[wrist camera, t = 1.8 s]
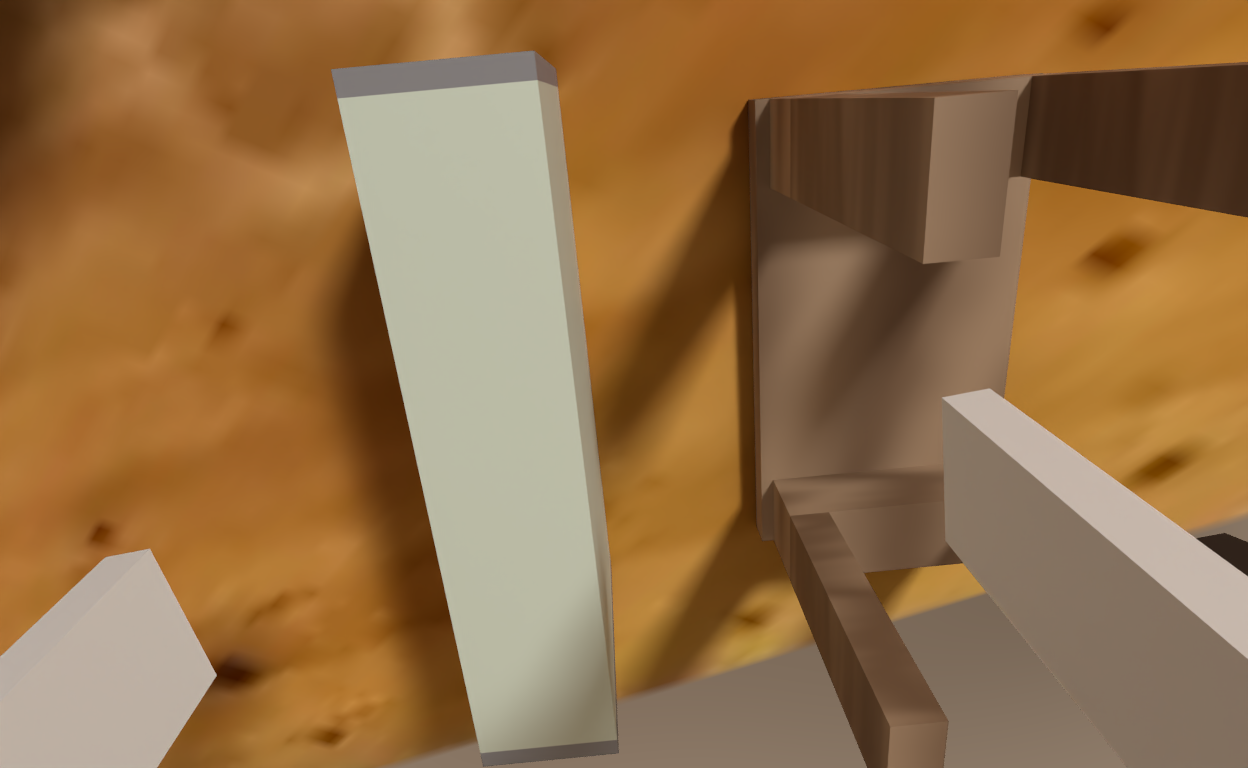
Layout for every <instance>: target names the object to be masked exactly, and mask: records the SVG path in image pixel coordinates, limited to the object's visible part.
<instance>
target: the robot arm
mask: <svg viewBox="0 0 1248 768" xmlns="http://www.w3.org/2000/svg"><path fill="white" fill-rule="evenodd" d="M942 425H943V464H944V503H945V541H946V542H947V543H948V545H949V546H950V547H951V548H952V550H953V551H954V552H955V553H956V555H957V556H958V557H959V558H960V560H961V561H962V562H963V563H964V565H965V566H966V567H967V568H968V570H969V571H970V572H971V573H972V575H973V576H974V577H975V578H976V580H977V581H978V582H979V583H980V585H981V586H982V587H983V588H984V590H985V591H986V592H987V593H988V595H989V596H990V597H991V598H992V599H993V601H994V602H995V603H996V605H997V606H998V607H999V608H1000V609H1001V611H1002V612H1003V613H1004V615H1005V616H1006V617H1007V618H1008V619H1009V621H1010V622H1011V623H1012V625H1013V626H1014V627H1015V628H1016V630H1017V631H1018V632H1019V633H1020V635H1021V636H1022V637H1023V638H1024V640H1025V641H1026V642H1027V643H1028V644H1029V646H1030V647H1031V648H1032V650H1033V651H1034V652H1035V653H1036V655H1037V656H1038V657H1039V658H1040V660H1041V661H1042V662H1043V663H1044V665H1045V666H1046V667H1047V668H1048V670H1049V671H1050V672H1051V673H1052V675H1053V676H1054V677H1055V678H1056V680H1057V681H1058V682H1059V683H1060V685H1061V686H1062V687H1063V688H1064V690H1065V691H1066V692H1067V693H1068V694H1069V696H1070V697H1071V698H1072V699H1073V701H1074V702H1075V703H1076V705H1077V706H1078V707H1079V708H1080V710H1081V711H1082V712H1083V713H1084V715H1085V716H1086V717H1087V718H1088V720H1089V721H1090V722H1091V723H1092V724H1093V726H1094V727H1095V728H1096V729H1097V731H1098V732H1099V733H1100V735H1101V736H1102V737H1103V738H1104V740H1105V741H1106V742H1107V743H1108V745H1109V746H1110V747H1111V748H1112V749H1113V751H1114V752H1115V753H1116V754H1117V756H1118V757H1119V758H1120V760H1121V761H1122V762H1123V763H1124V765H1125V766H1126V767H1127V768H1248V542H1246V541H1243V540H1241V539H1238V538H1236V537H1233V536H1231V535H1228V534H1226V533H1223V534H1217V535H1212V536H1207V537H1201V538H1194V537H1193V536H1192V535H1190V534H1189V533H1188V532H1186V531H1185V530H1183V529H1182V528H1181V527H1179V526H1178V525H1177V524H1175V523H1174V522H1172V521H1171V520H1170V519H1168V518H1167V517H1166V516H1164V515H1163V514H1161V513H1160V512H1159V511H1157V510H1156V509H1155V508H1153V507H1152V506H1150V505H1149V504H1148V503H1146V502H1145V501H1144V500H1142V499H1141V498H1140V497H1138V496H1137V495H1135V494H1134V493H1133V492H1131V491H1130V490H1129V489H1127V488H1126V487H1124V486H1123V485H1122V484H1120V483H1119V482H1118V481H1116V480H1115V479H1113V478H1112V477H1111V476H1109V475H1108V474H1107V473H1105V472H1104V471H1102V470H1101V469H1100V468H1098V467H1097V466H1096V465H1094V464H1093V463H1091V462H1090V461H1089V460H1087V459H1086V458H1085V457H1083V456H1082V455H1081V454H1079V453H1078V452H1076V451H1075V450H1074V449H1072V448H1071V447H1070V446H1068V445H1067V444H1065V443H1064V442H1063V441H1061V440H1060V439H1059V438H1057V437H1056V436H1054V435H1053V434H1052V433H1050V432H1049V431H1048V430H1046V429H1045V428H1043V427H1042V426H1041V425H1039V424H1038V423H1037V422H1035V421H1034V420H1033V419H1031V418H1030V417H1028V416H1027V415H1026V414H1024V413H1023V412H1022V411H1020V410H1019V409H1017V408H1016V407H1015V406H1013V405H1012V404H1011V403H1009V402H1008V401H1006V400H1005V399H1004V398H1002V397H1001V396H1000V395H998V394H997V393H995V392H994V391H993V390H991V389H990V388H989V389H984V390H979V391H973V392H968V393H963V394H958V395H952V396H947V397H942ZM216 676H217V675H216V673H215V671H214V669H213V667H212V666H211V664H210V662H209V660H208V658H207V656H206V654H205V652H204V650H203V649H202V647H201V645H200V643H199V641H198V639H197V637H196V635H195V633H194V632H193V630H192V628H191V626H190V624H189V622H188V620H187V618H186V616H185V614H184V613H183V611H182V609H181V607H180V605H179V603H178V601H177V599H176V597H175V596H174V594H173V592H172V590H171V588H170V586H169V584H168V582H167V580H166V579H165V577H164V575H163V573H162V571H161V569H160V567H159V565H158V563H157V562H156V560H155V558H154V556H153V554H152V552H151V550H150V549H146V550H141V551H136V552H131V553H126V554H120V555H115V556H110V557H105V558H104V559H103V560H102V561H101V562H100V563H99V564H98V565H97V566H96V567H95V568H94V569H92V570H91V571H90V572H89V573H88V574H87V575H86V576H85V577H84V578H83V579H82V580H81V581H80V582H79V583H78V584H77V585H76V586H75V587H73V588H72V589H71V590H70V591H69V592H68V593H67V594H66V595H65V596H64V597H63V598H62V599H61V600H60V601H59V602H58V603H57V604H55V605H54V606H53V607H52V608H51V609H50V610H49V611H48V612H47V613H46V614H45V615H44V616H43V617H42V618H41V619H40V620H39V621H38V622H36V623H35V624H34V625H33V626H32V627H31V628H30V629H29V630H28V631H27V632H26V633H25V634H24V635H23V636H22V637H21V638H20V639H19V640H17V641H16V642H15V643H14V644H13V645H12V646H11V647H10V648H9V649H8V650H7V651H6V652H5V653H4V654H3V655H2V656H1V657H0V768H157V767H158V765H159V764H160V762H161V761H162V759H163V758H164V756H165V755H166V753H167V752H168V750H169V748H170V747H171V745H172V744H173V742H174V741H175V739H176V738H177V736H178V735H179V733H180V731H181V730H182V728H183V727H184V725H185V724H186V722H187V721H188V719H189V718H190V716H191V714H192V713H193V711H194V710H195V708H196V707H197V705H198V704H199V702H200V701H201V699H202V697H203V696H204V694H205V693H206V691H207V690H208V688H209V687H210V685H211V684H212V682H213V680H214V679H215V677H216Z"/></svg>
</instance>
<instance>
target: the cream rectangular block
mask: <svg viewBox="0 0 1248 768" xmlns="http://www.w3.org/2000/svg"><path fill="white" fill-rule="evenodd" d="M331 71H332V76H333V81H334V85H335V90H336V94H337V99H338V103H339V108H340V113H341V117H342V122H343V126H344V131H345V135H346V140H347V145H348V149H349V154H350V158H351V163H352V168H353V172H354V177H355V181H356V186H357V190H358V195H359V200H360V204H361V209H362V213H363V218H364V223H365V227H366V232H367V236H368V241H369V245H370V250H371V255H372V259H373V264H374V268H375V273H376V278H377V282H378V287H379V291H380V296H381V300H382V305H383V310H384V314H385V319H386V323H387V328H388V333H389V337H390V342H391V346H392V351H393V355H394V360H395V365H396V369H397V374H398V378H399V383H400V388H401V392H402V397H403V401H404V406H405V410H406V415H407V420H408V424H409V429H410V433H411V438H412V442H413V447H414V452H415V456H416V461H417V465H418V470H419V475H420V479H421V484H422V488H423V493H424V497H425V502H426V507H427V511H428V516H429V520H430V525H431V530H432V534H433V539H434V543H435V548H436V552H437V557H438V562H439V566H440V571H441V575H442V580H443V585H444V589H445V594H446V598H447V603H448V607H449V612H450V617H451V621H452V626H453V630H454V635H455V640H456V644H457V649H458V653H459V658H460V662H461V667H462V672H463V676H464V681H465V685H466V690H467V695H468V699H469V704H470V708H471V713H472V717H473V722H474V727H475V731H476V736H477V740H478V745H479V749H480V754H481V759H482V763H483V766H493V765H503V764H513V763H524V762H534V761H545V760H554V759H565V758H575V757H586V756H596V755H606V754H616V753H619V750H618V727H617V726H618V724H617V699H616V674H615V648H614V623H613V598H612V572H611V561H610V552H609V543H608V534H607V525H606V516H605V507H604V498H603V489H602V480H601V471H600V462H599V453H598V444H597V435H596V426H595V417H594V408H593V399H592V390H591V381H590V372H589V363H588V354H587V345H586V336H585V327H584V318H583V309H582V300H581V291H580V282H579V273H578V264H577V255H576V246H575V237H574V228H573V219H572V210H571V201H570V192H569V183H568V174H567V165H566V156H565V147H564V138H563V129H562V120H561V111H560V102H559V93H558V84H557V75H556V69H555V68H554V67H553V66H552V65H551V64H549V63H548V62H547V61H546V60H545V59H543V58H542V57H541V56H540V55H539V54H537V53H536V52H535V51H526V52H515V53H504V54H493V55H482V56H471V57H460V58H450V59H439V60H428V61H417V62H406V63H395V64H384V65H373V66H363V67H352V68H341V69H331Z"/></svg>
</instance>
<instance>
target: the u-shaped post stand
mask: <svg viewBox="0 0 1248 768" xmlns="http://www.w3.org/2000/svg"><path fill="white" fill-rule="evenodd" d="M748 119H749V170H750V221H751V272H752V323H753V373H754V424H755V475H756V526H757V529H758V531H759V534H760V536H761V539H762V541H769V540H774V542H775V544H776V547H777V549H778V552H779V554H780V557H781V559H782V561H783V564H784V566H785V569H786V571H787V574H788V576H789V578H790V581H791V583H792V586H793V588H794V591H795V593H796V595H797V598H798V600H799V603H800V605H801V608H802V610H803V612H804V615H805V617H806V620H807V622H808V625H809V627H810V630H811V632H812V634H813V637H814V639H815V642H816V644H817V647H818V649H819V651H820V654H821V656H822V659H823V661H824V663H825V666H826V668H827V671H828V673H829V676H830V678H831V680H832V683H833V685H834V688H835V690H836V693H837V695H838V698H839V700H840V702H841V705H842V707H843V709H844V712H845V714H846V717H847V719H848V722H849V724H850V727H851V729H852V731H853V734H854V736H855V739H856V741H857V744H858V746H859V749H860V751H861V753H862V756H863V758H864V761H865V763H866V766H867V768H943V766H944V758H945V749H946V740H947V730H948V720H947V718H946V716H945V714H944V712H943V711H942V709H941V707H940V705H939V704H938V702H937V700H936V698H935V697H934V695H933V693H932V692H931V690H930V688H929V686H928V684H927V683H926V681H925V679H924V678H923V676H922V674H921V672H920V671H919V669H918V667H917V665H916V664H915V662H914V660H913V658H912V657H911V655H910V653H909V651H908V650H907V648H906V646H905V644H904V643H903V641H902V639H901V637H900V636H899V634H898V632H897V630H896V629H895V627H894V625H893V623H892V622H891V620H890V618H889V616H888V615H887V613H886V611H885V609H884V608H883V606H882V604H881V602H880V601H879V599H878V597H877V595H876V594H875V592H874V590H873V588H872V587H871V585H870V583H869V581H868V580H867V578H866V576H865V574H864V573H867V572H877V571H887V570H898V569H908V568H918V567H929V566H939V565H950V564H960V563H963V562H962V561H961V560H960V558H959V557H958V556H957V555H956V553H955V552H954V551H953V550H952V548H951V547H950V546H949V545H948V543H947V542H946V541H945V503H944V464H943V425H942V397H947V396H952V395H958V394H963V393H968V392H973V391H979V390H984V389H989V388H990V389H991V390H993V391H994V392H995V393H997V394H998V395H1000V396H1001V397H1002V398H1004V394H1005V385H1006V377H1007V369H1008V361H1009V353H1010V344H1011V336H1012V328H1013V320H1014V311H1015V303H1016V295H1017V287H1018V279H1019V270H1020V262H1021V254H1022V246H1023V237H1024V229H1025V221H1026V213H1027V205H1028V196H1029V188H1030V180H1031V179H1037V180H1042V181H1048V182H1054V183H1059V184H1065V185H1070V186H1076V187H1081V188H1087V189H1093V190H1098V191H1104V192H1109V193H1115V194H1120V195H1126V196H1132V197H1137V198H1143V199H1148V200H1154V201H1159V202H1165V203H1171V204H1176V205H1182V206H1187V207H1193V208H1198V209H1204V210H1209V211H1215V212H1221V213H1226V214H1232V215H1237V216H1243V217H1248V62H1240V63H1223V64H1206V65H1188V66H1171V67H1153V68H1136V69H1119V70H1101V71H1084V72H1066V73H1049V74H1043V73H1040V74H1023V75H1013V76H1002V77H991V78H980V79H969V80H959V81H948V82H937V83H926V84H915V85H905V86H894V87H883V88H872V89H861V90H851V91H840V92H829V93H818V94H807V95H797V96H786V97H775V98H764V99H753V100H748Z"/></svg>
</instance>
